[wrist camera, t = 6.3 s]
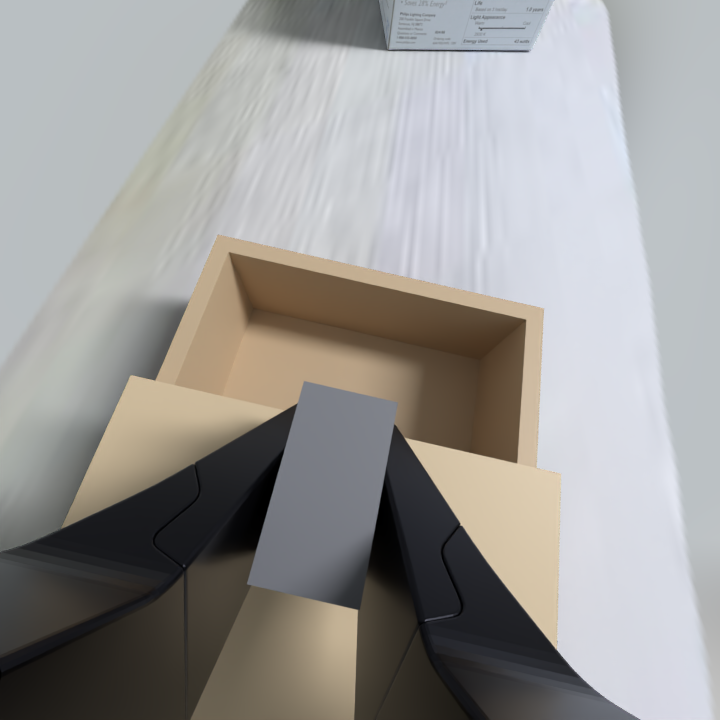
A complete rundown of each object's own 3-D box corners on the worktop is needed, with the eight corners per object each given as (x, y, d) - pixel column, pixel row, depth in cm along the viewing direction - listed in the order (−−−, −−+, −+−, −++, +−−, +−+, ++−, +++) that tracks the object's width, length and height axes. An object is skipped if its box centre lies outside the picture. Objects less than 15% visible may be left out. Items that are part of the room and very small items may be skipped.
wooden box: (459, 649, 14) (524, 731, 9) (146, 576, 14) (52, 620, 9) (488, 355, 18) (544, 308, 13) (247, 300, 18) (217, 234, 13)
